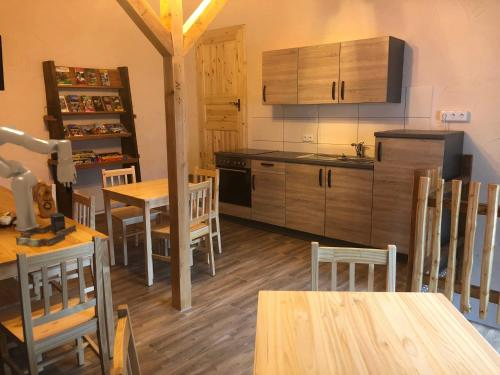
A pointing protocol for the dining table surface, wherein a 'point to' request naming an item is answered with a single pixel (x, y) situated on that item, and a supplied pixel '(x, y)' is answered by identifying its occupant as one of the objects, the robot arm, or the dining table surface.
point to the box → (57, 222)
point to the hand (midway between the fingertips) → (69, 193)
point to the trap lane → (26, 238)
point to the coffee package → (45, 201)
